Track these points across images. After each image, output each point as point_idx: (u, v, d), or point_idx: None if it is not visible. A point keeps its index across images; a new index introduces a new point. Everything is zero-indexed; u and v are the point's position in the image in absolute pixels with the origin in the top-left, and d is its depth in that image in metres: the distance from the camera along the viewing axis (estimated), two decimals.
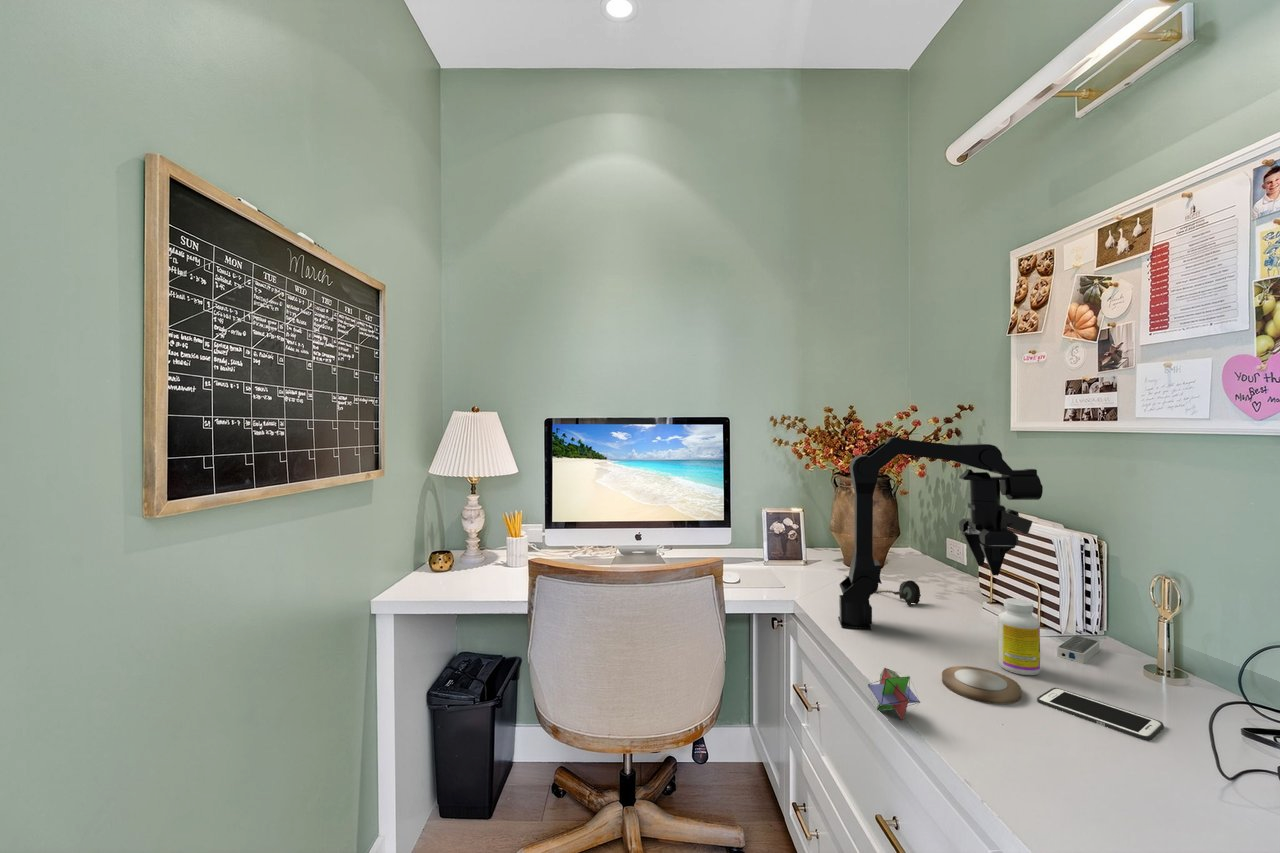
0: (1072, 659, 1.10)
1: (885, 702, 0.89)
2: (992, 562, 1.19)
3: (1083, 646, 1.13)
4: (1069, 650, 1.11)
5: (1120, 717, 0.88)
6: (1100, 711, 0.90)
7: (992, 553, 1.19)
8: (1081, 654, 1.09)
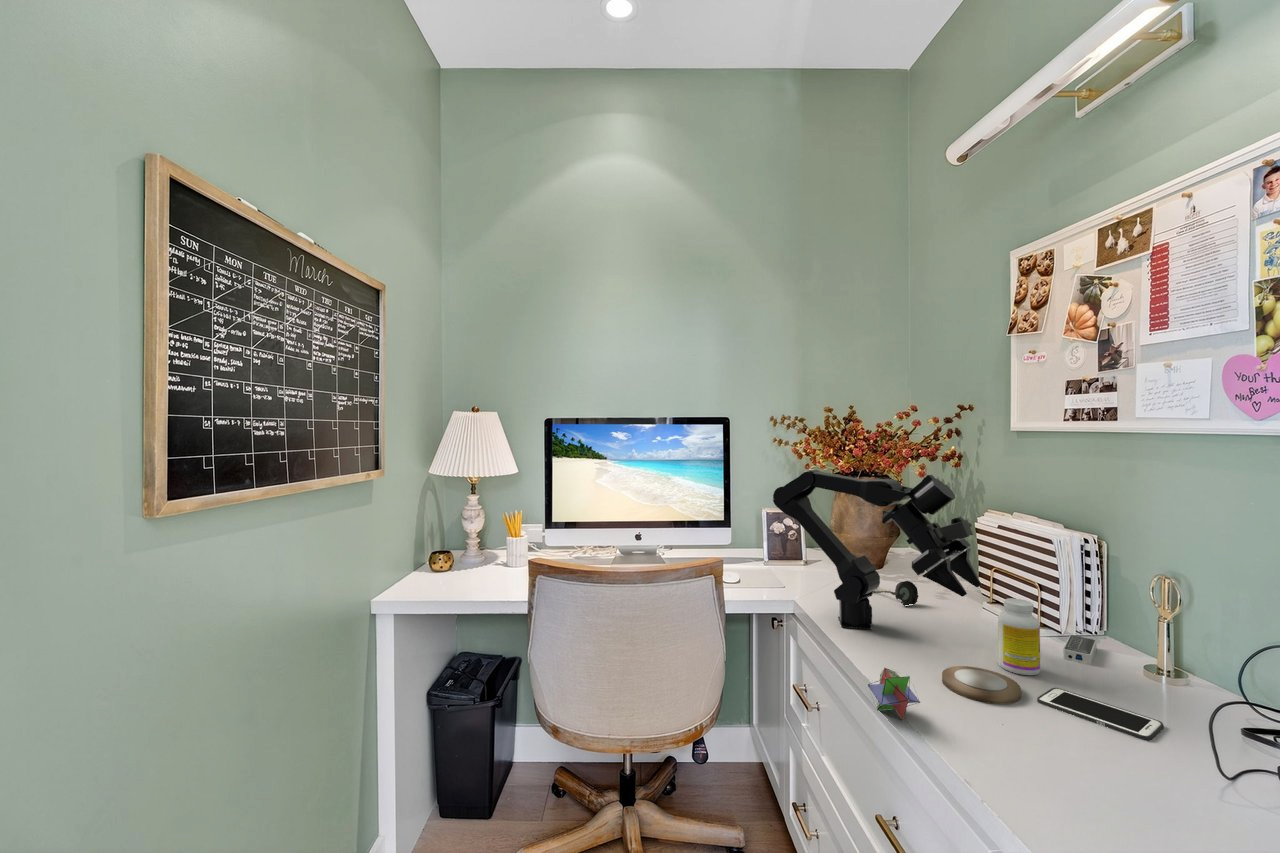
0: (1079, 661, 1.10)
1: (885, 702, 0.89)
2: (948, 585, 1.11)
3: (1085, 646, 1.13)
4: (1076, 652, 1.10)
5: (1120, 717, 0.88)
6: (1100, 711, 0.90)
7: (940, 577, 1.12)
8: (1089, 655, 1.09)
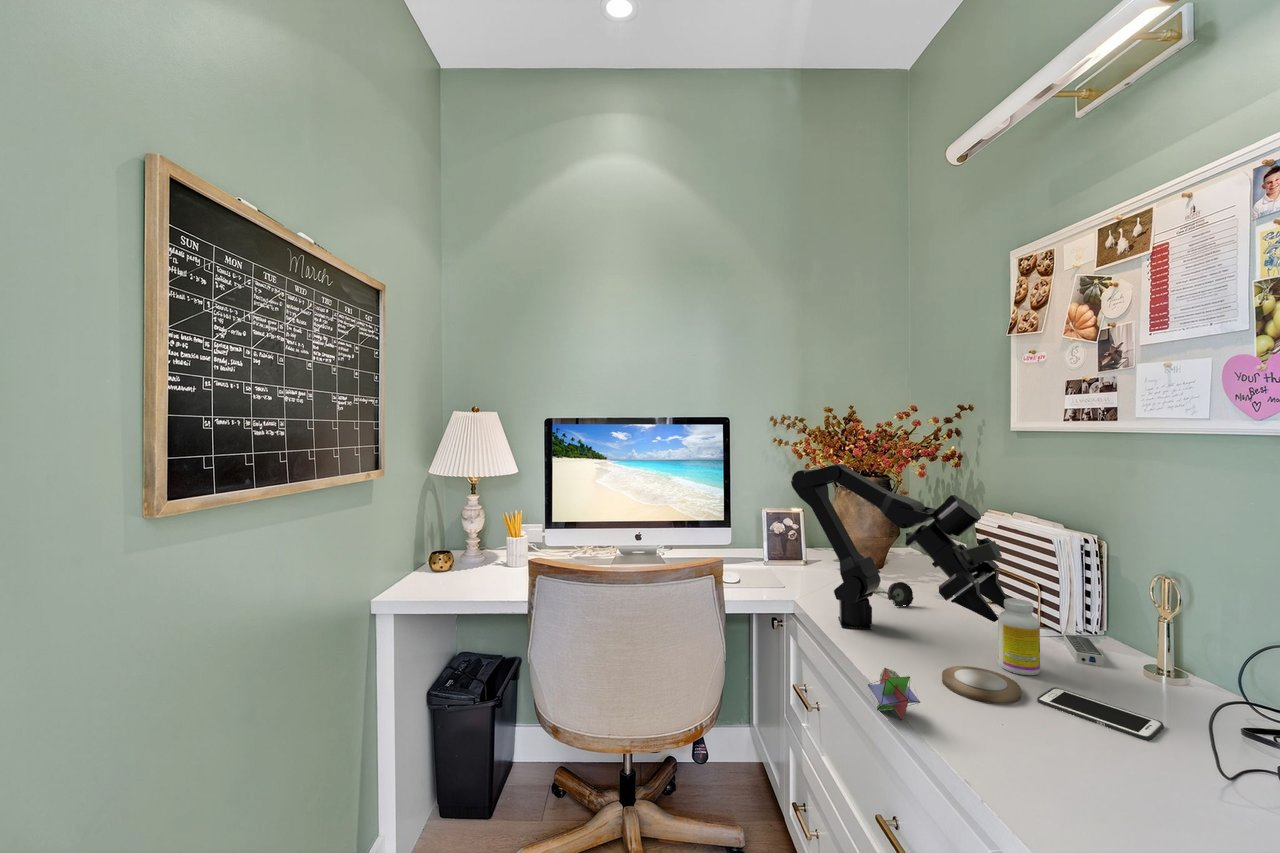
0: (1092, 663, 1.09)
1: (885, 702, 0.89)
2: (978, 610, 1.07)
3: (1090, 646, 1.12)
4: (1089, 654, 1.09)
5: (1120, 717, 0.88)
6: (1100, 711, 0.90)
7: (970, 602, 1.08)
8: (1102, 656, 1.08)
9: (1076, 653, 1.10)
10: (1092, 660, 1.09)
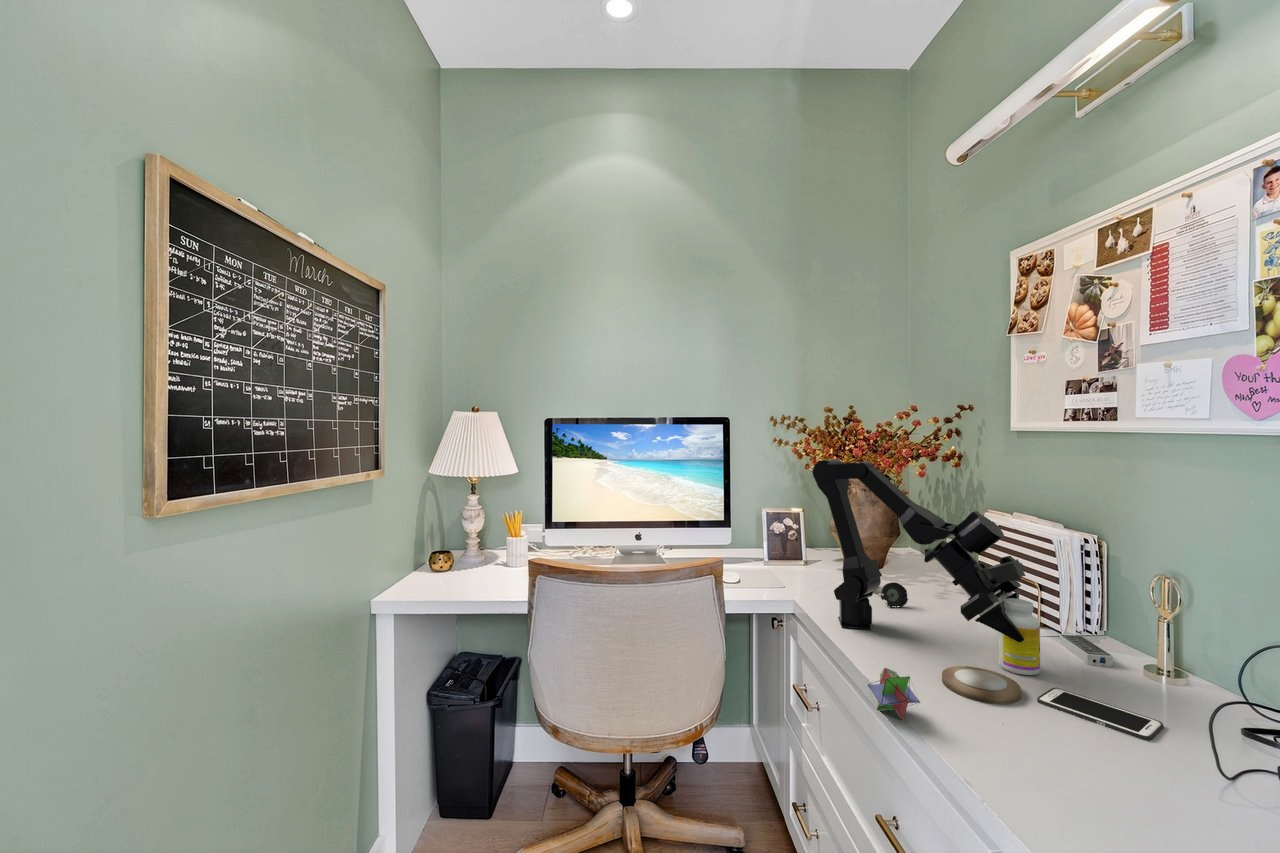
0: (1103, 664, 1.08)
1: (885, 702, 0.89)
2: (1003, 630, 1.05)
3: (1092, 646, 1.13)
4: (1099, 655, 1.08)
5: (1120, 717, 0.88)
6: (1100, 711, 0.90)
7: (994, 621, 1.06)
8: (1112, 656, 1.08)
9: (1087, 655, 1.09)
10: (1102, 661, 1.08)
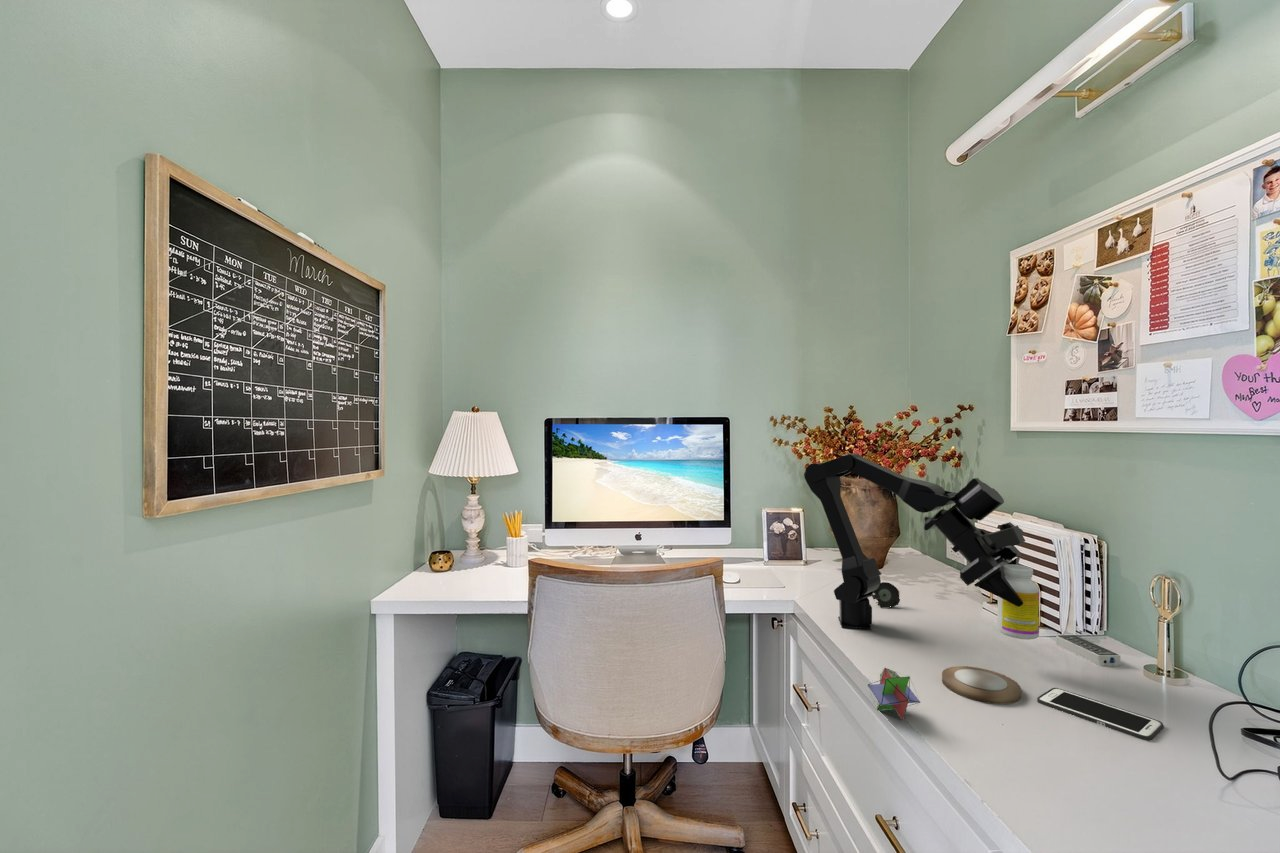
0: (1112, 664, 1.08)
1: (885, 702, 0.89)
2: (1003, 595, 1.05)
3: (1094, 646, 1.13)
4: (1109, 655, 1.08)
5: (1120, 717, 0.88)
6: (1100, 711, 0.90)
7: (994, 586, 1.06)
8: None
9: (1098, 656, 1.08)
10: (1111, 661, 1.08)
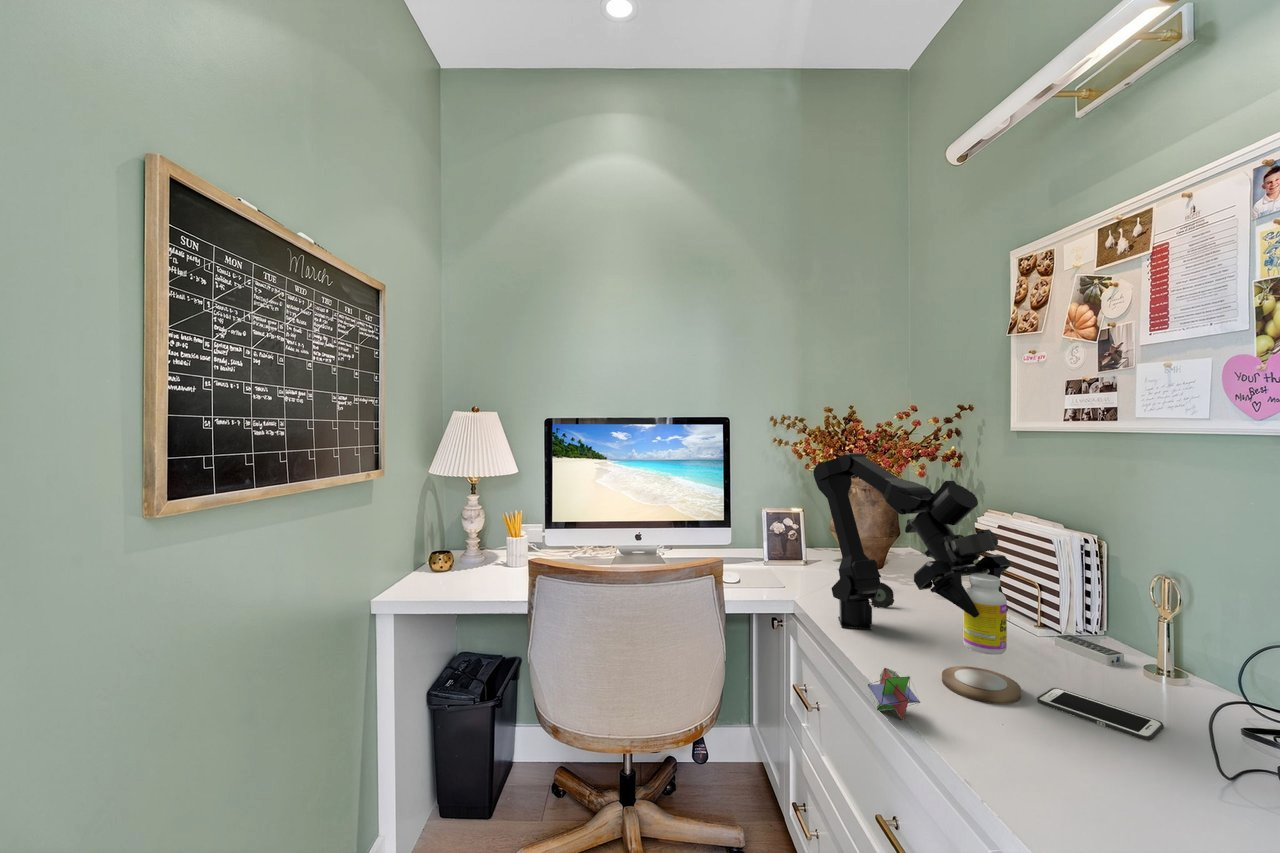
0: (1118, 663, 1.09)
1: (885, 702, 0.89)
2: (959, 603, 1.00)
3: (1095, 645, 1.13)
4: (1115, 655, 1.09)
5: (1120, 717, 0.88)
6: (1100, 711, 0.90)
7: (951, 593, 1.01)
8: None
9: (1107, 657, 1.08)
10: (1116, 660, 1.09)
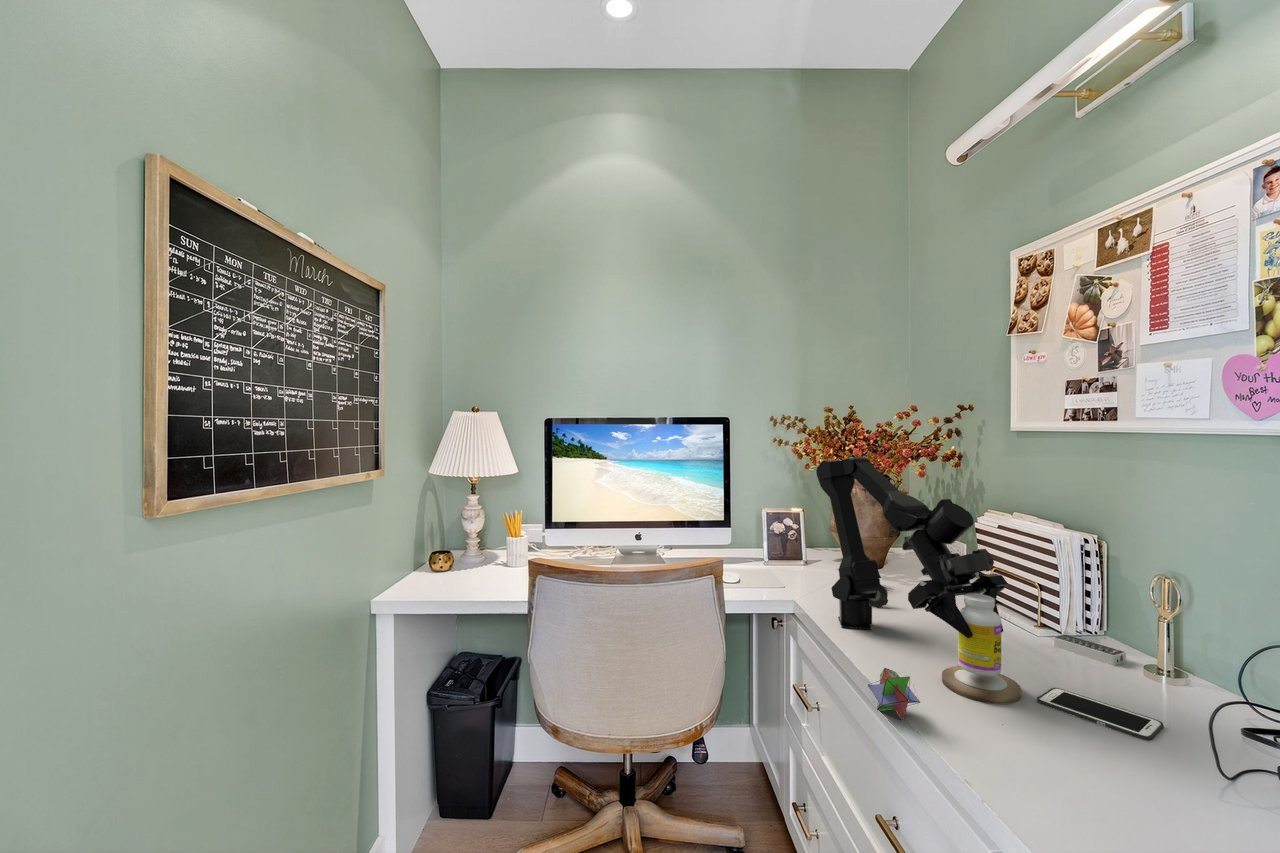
0: (1121, 662, 1.09)
1: (885, 702, 0.88)
2: (952, 623, 0.99)
3: (1095, 644, 1.14)
4: (1119, 654, 1.09)
5: (1120, 717, 0.88)
6: (1100, 711, 0.90)
7: (945, 613, 1.01)
8: (1125, 652, 1.10)
9: (1112, 656, 1.08)
10: (1120, 659, 1.09)
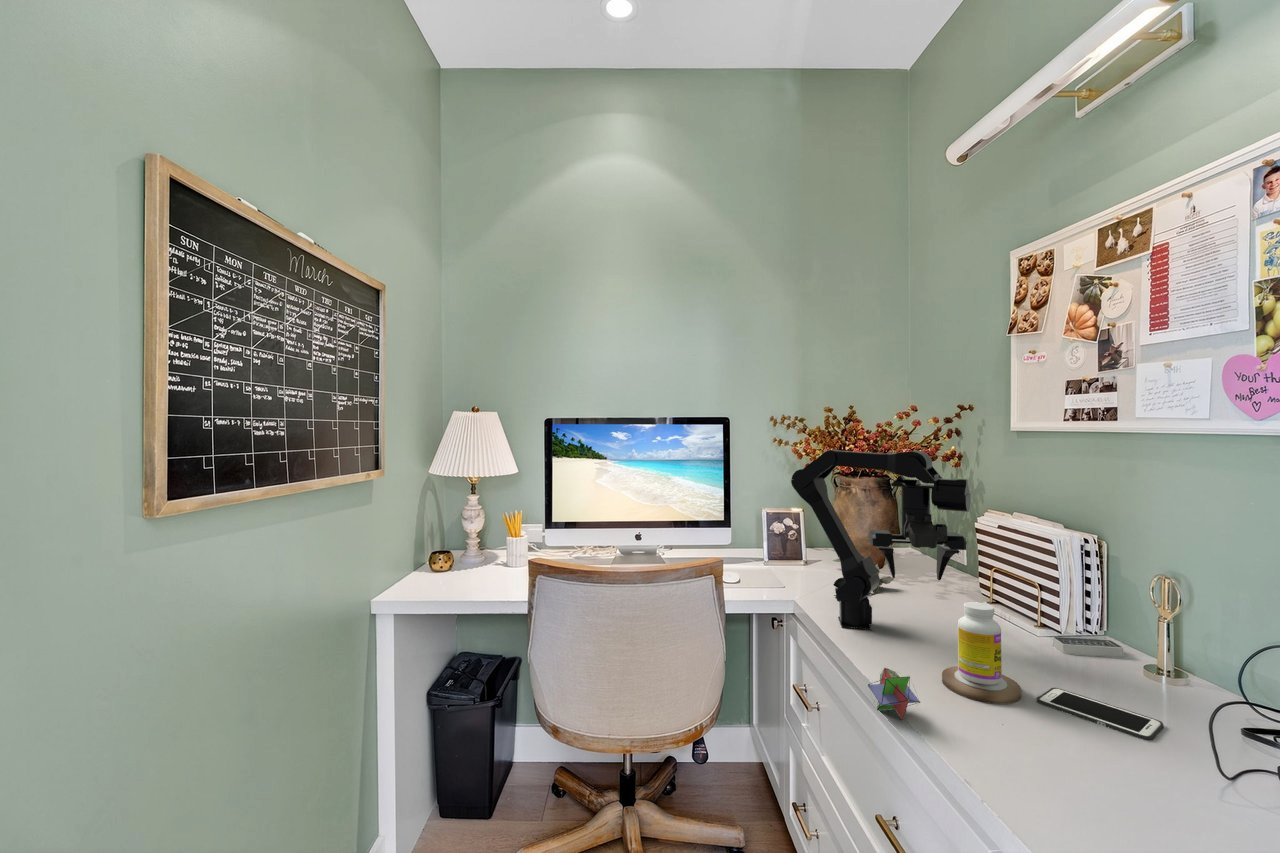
0: None
1: (885, 702, 0.89)
2: (887, 563, 1.25)
3: (1088, 640, 1.16)
4: (1116, 644, 1.14)
5: (1120, 717, 0.88)
6: (1100, 711, 0.90)
7: None
8: None
9: (1122, 649, 1.12)
10: None
